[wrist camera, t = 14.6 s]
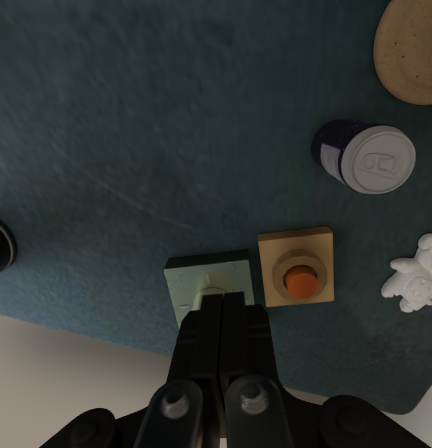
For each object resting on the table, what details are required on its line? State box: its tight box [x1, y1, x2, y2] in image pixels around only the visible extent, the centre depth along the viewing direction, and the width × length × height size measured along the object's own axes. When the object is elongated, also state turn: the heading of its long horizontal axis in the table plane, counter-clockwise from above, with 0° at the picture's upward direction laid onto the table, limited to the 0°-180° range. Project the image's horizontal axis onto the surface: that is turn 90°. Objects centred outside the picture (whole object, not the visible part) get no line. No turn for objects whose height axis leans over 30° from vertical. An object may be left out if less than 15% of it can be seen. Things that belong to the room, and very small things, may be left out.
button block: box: [257, 226, 334, 307], centre depth 38 cm, size 9×10×4 cm
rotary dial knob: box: [192, 288, 226, 310], centre depth 37 cm, size 5×5×5 cm
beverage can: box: [311, 120, 416, 194], centre depth 29 cm, size 6×6×12 cm
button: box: [285, 266, 318, 299], centre depth 36 cm, size 4×4×2 cm
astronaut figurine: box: [381, 233, 432, 312], centre depth 38 cm, size 9×12×3 cm
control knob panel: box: [164, 250, 255, 329], centre depth 41 cm, size 11×12×3 cm
